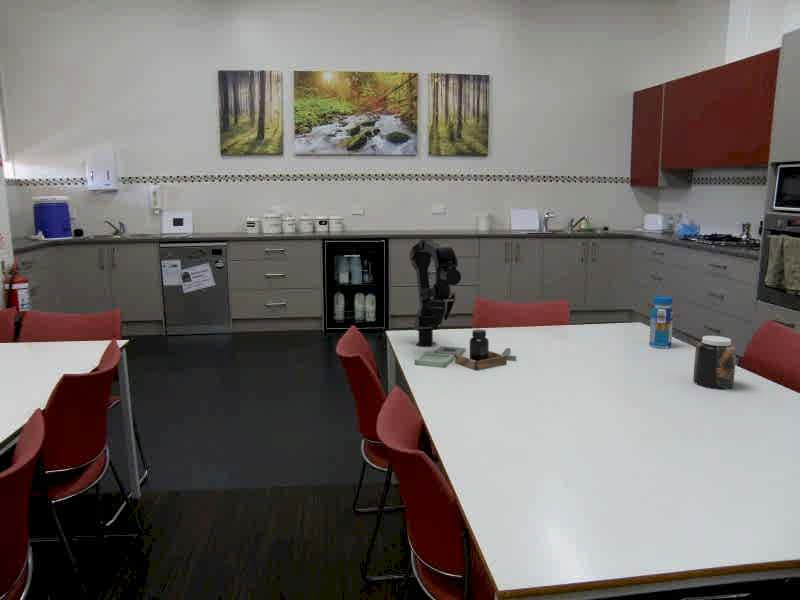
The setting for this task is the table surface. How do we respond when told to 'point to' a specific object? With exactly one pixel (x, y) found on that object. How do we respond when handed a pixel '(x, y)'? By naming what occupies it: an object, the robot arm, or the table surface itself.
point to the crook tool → (509, 357)
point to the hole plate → (453, 350)
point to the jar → (715, 362)
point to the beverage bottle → (661, 322)
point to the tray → (434, 359)
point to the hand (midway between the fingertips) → (442, 322)
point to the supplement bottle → (479, 345)
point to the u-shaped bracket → (482, 361)
